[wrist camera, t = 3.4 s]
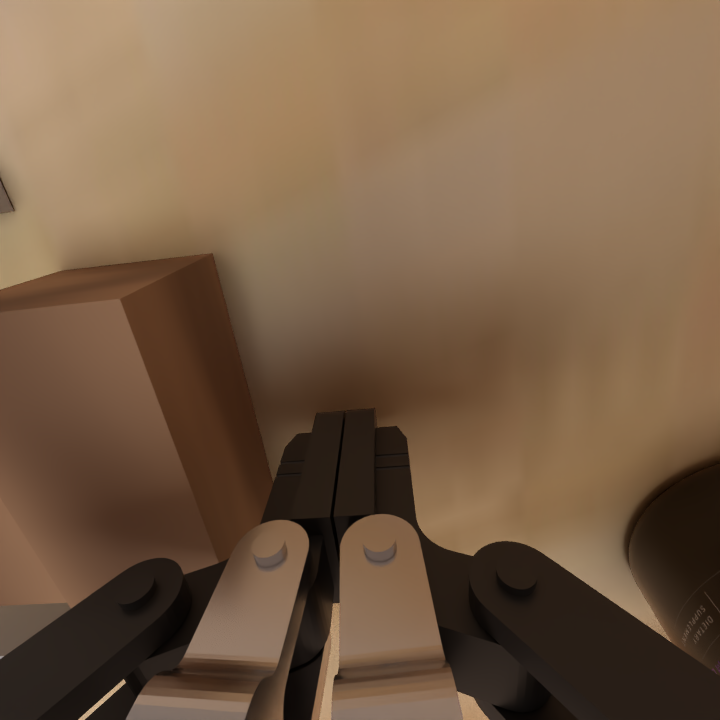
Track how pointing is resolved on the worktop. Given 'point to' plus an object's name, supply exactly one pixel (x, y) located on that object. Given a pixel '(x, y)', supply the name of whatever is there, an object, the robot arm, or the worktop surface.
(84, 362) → the t block
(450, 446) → the worktop surface
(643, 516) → the supplement bottle
